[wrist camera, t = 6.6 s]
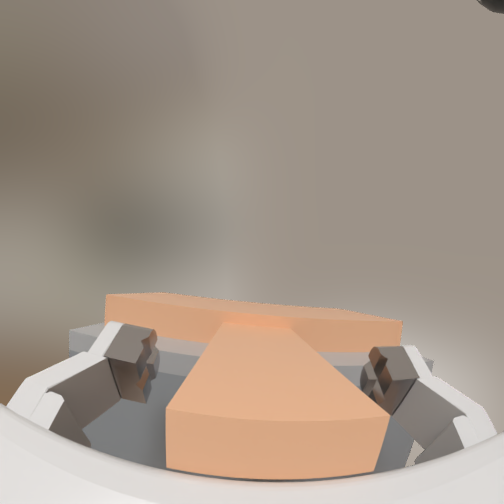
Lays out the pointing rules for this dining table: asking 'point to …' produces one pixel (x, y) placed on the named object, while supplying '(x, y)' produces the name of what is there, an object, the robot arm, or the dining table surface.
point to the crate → (167, 384)
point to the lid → (265, 386)
